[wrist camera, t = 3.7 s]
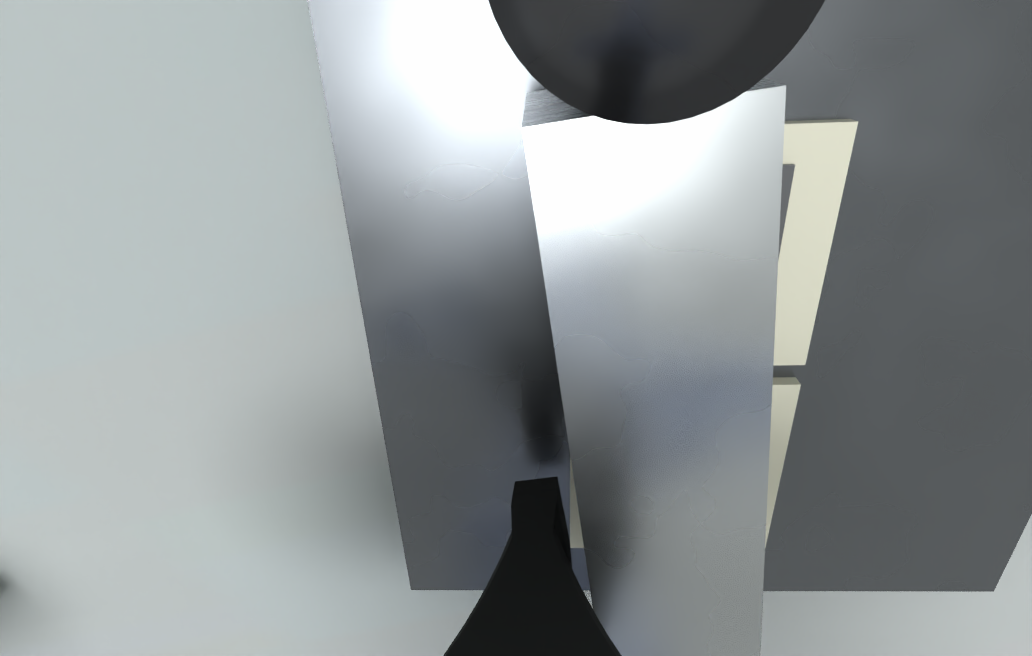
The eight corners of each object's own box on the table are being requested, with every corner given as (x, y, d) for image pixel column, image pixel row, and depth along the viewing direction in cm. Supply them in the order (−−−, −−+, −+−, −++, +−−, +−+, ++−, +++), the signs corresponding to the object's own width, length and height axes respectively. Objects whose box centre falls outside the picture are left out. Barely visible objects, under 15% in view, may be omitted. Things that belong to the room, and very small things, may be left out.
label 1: (761, 538, 16) (767, 550, 15) (569, 538, 16) (570, 550, 16) (795, 377, 13) (802, 387, 13) (570, 380, 14) (571, 389, 13)
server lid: (974, 567, 17) (993, 591, 16) (416, 566, 18) (411, 589, 17) (1331, -216, 9) (1397, -234, 8) (296, -155, 10) (278, -168, 9)
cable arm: (489, -132, 9) (440, -276, 5) (702, -176, 9) (878, -377, 4) (591, 570, 16) (612, 789, 12) (711, 560, 16) (781, 782, 11)
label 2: (799, 357, 13) (806, 367, 13) (570, 361, 13) (571, 370, 13) (850, 118, 11) (860, 122, 10) (571, 128, 11) (573, 132, 11)
